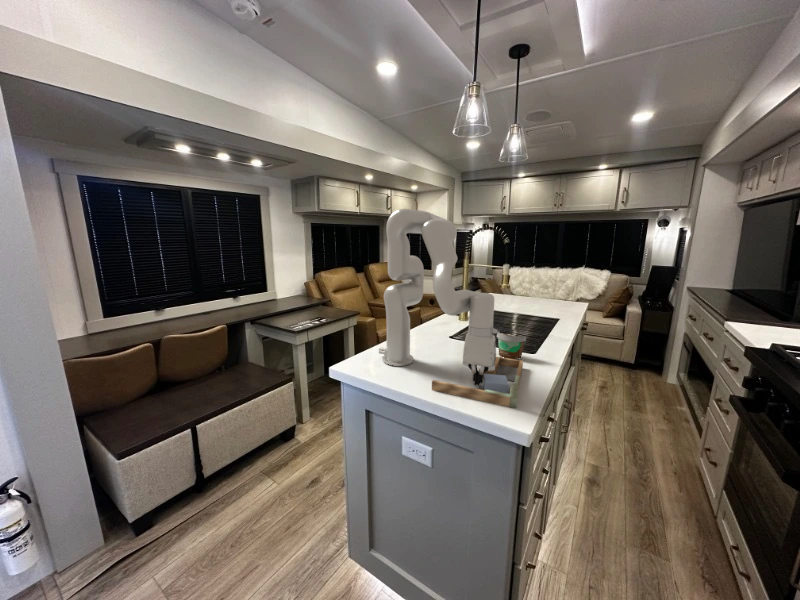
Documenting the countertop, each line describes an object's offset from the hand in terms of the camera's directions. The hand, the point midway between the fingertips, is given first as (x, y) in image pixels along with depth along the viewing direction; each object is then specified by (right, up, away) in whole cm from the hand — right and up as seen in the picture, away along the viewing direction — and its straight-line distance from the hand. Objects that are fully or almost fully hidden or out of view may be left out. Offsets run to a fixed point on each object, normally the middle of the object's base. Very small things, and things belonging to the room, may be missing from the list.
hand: (477, 383), depth 103 cm
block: (+5, -2, -2) cm, 6 cm away
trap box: (+3, 0, +7) cm, 8 cm away
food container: (+20, +4, +28) cm, 34 cm away
